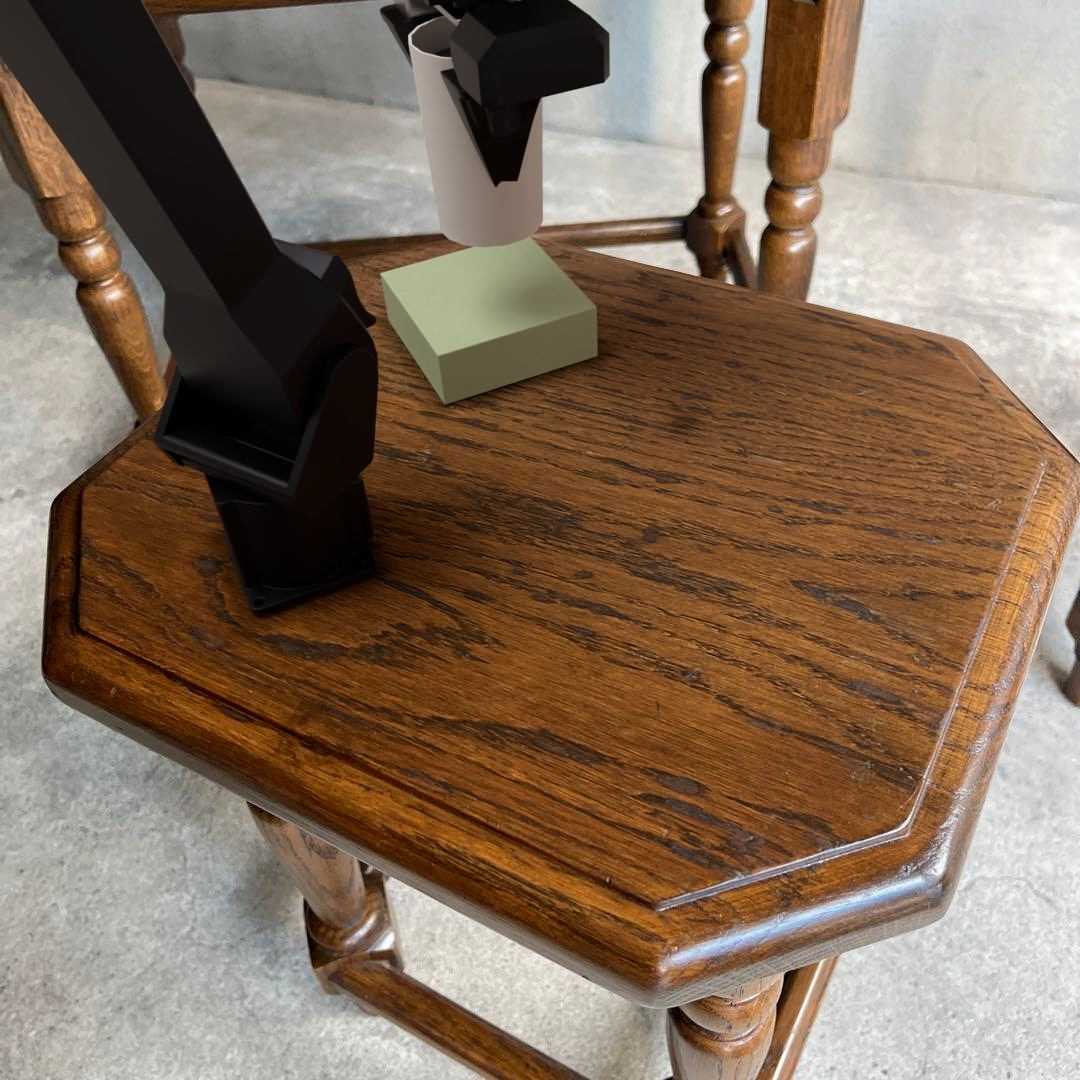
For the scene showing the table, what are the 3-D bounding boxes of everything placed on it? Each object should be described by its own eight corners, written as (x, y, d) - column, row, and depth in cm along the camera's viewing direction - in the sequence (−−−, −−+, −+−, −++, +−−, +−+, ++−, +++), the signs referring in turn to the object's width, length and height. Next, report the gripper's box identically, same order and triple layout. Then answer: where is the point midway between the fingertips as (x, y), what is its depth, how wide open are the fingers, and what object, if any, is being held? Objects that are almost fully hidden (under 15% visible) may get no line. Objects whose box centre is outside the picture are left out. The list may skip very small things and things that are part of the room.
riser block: (444, 405, 64) (437, 355, 62) (388, 320, 71) (379, 272, 68) (598, 356, 67) (597, 306, 64) (529, 279, 73) (526, 231, 71)
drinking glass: (545, 251, 58) (535, 58, 51) (422, 251, 59) (395, 60, 52) (555, 193, 63) (548, 9, 56) (441, 193, 64) (419, 11, 57)
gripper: (726, -154, 44) (705, 206, 55) (536, -232, 56) (550, 75, 67) (467, -106, 41) (499, 263, 52) (326, -199, 53) (377, 115, 64)
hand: (485, 168), depth 59 cm, fingers closed on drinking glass, 5 cm apart
